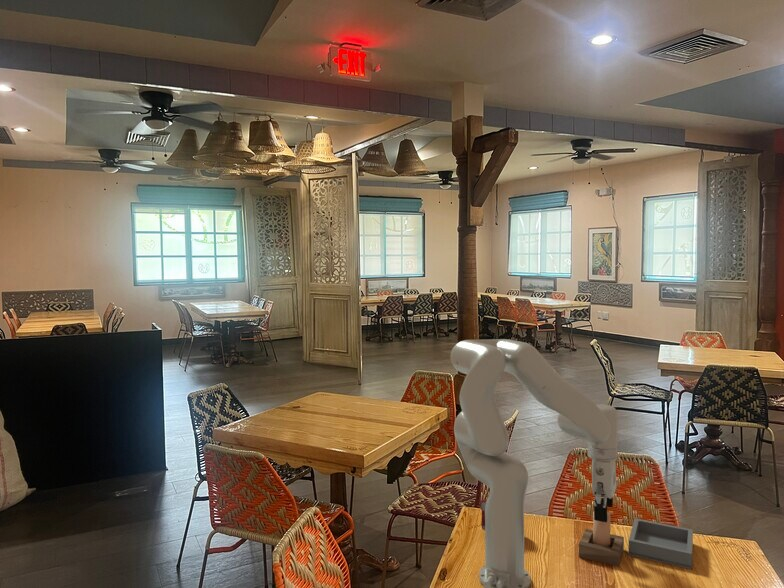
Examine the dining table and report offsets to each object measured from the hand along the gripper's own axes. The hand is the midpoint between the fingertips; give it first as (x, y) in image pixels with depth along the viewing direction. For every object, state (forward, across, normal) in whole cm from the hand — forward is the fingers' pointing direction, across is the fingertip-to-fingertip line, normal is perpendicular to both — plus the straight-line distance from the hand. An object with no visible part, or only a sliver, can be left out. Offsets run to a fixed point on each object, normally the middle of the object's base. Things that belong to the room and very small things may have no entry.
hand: (603, 513), depth 149 cm
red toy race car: (+11, -4, +28) cm, 30 cm away
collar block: (+11, -1, +1) cm, 11 cm away
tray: (+11, +9, -13) cm, 20 cm away
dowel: (+11, -1, +1) cm, 11 cm away
